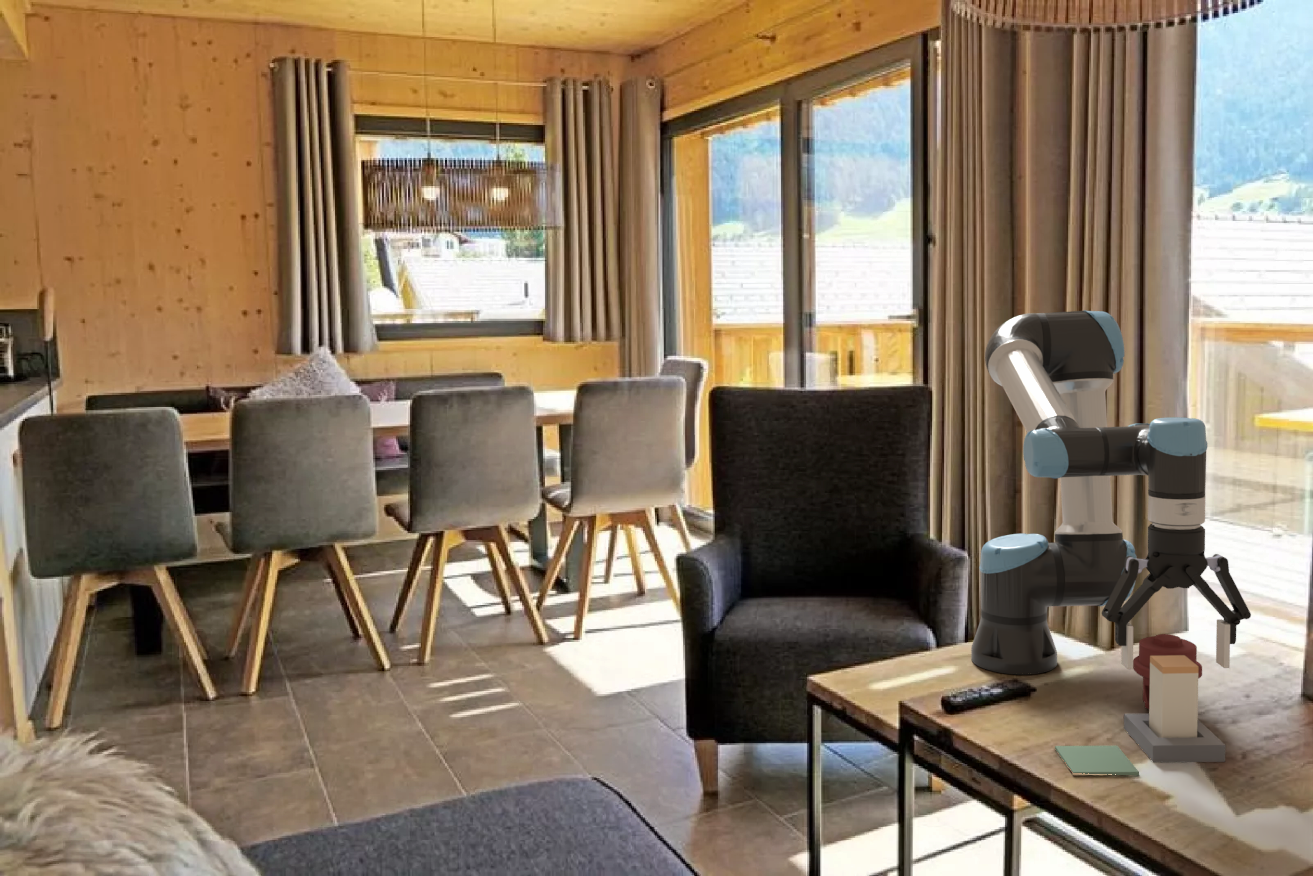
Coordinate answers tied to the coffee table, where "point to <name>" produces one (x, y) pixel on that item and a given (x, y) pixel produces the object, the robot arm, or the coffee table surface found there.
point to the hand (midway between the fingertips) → (1174, 666)
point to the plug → (1173, 696)
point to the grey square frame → (1174, 743)
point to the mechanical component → (1161, 647)
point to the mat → (1096, 760)
